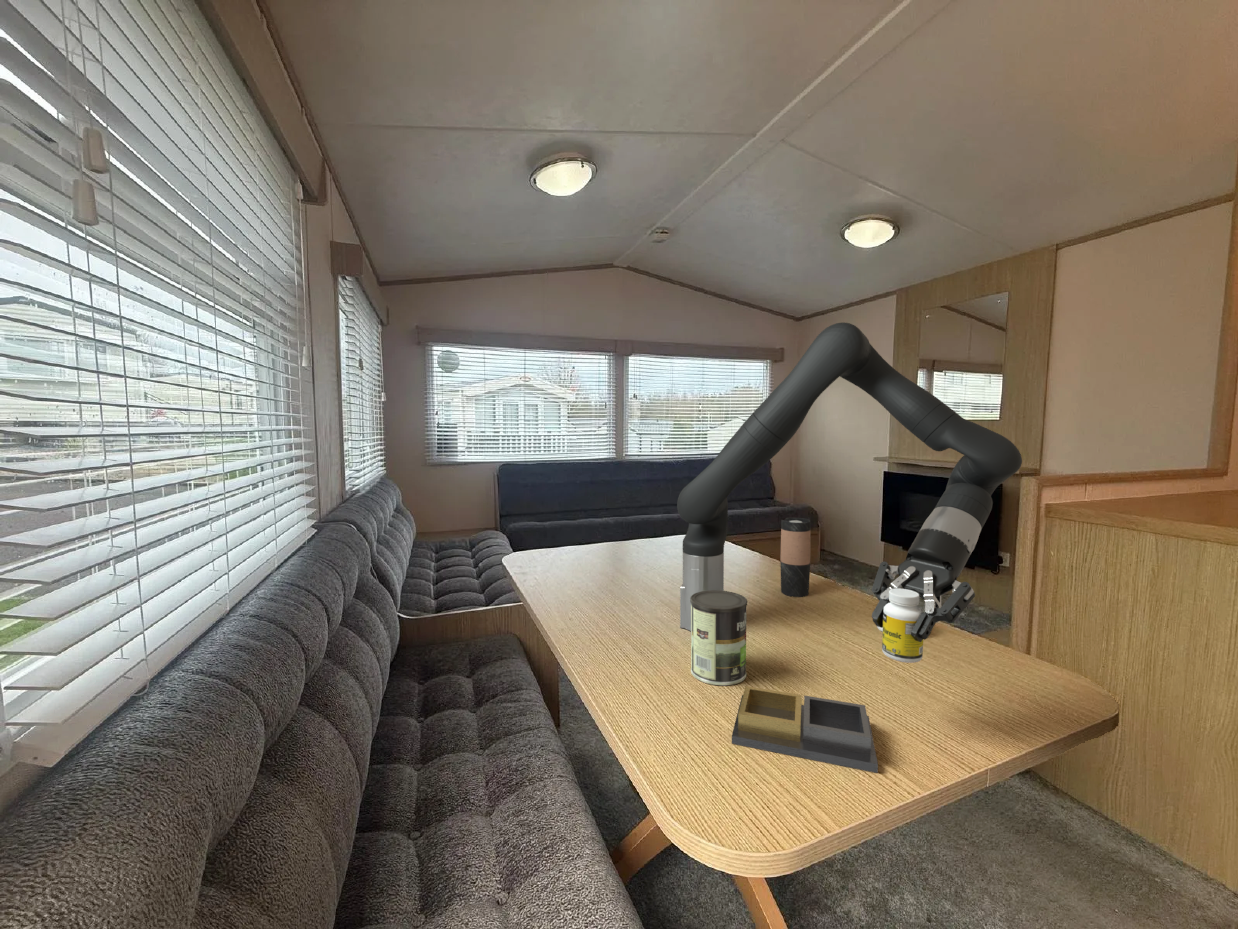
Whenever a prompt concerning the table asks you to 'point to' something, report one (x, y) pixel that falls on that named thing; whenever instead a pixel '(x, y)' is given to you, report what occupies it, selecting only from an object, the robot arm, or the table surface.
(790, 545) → the travel mug
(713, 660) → the coffee can
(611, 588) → the table surface
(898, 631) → the supplement bottle
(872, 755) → the two compartment tray
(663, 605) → the table surface
